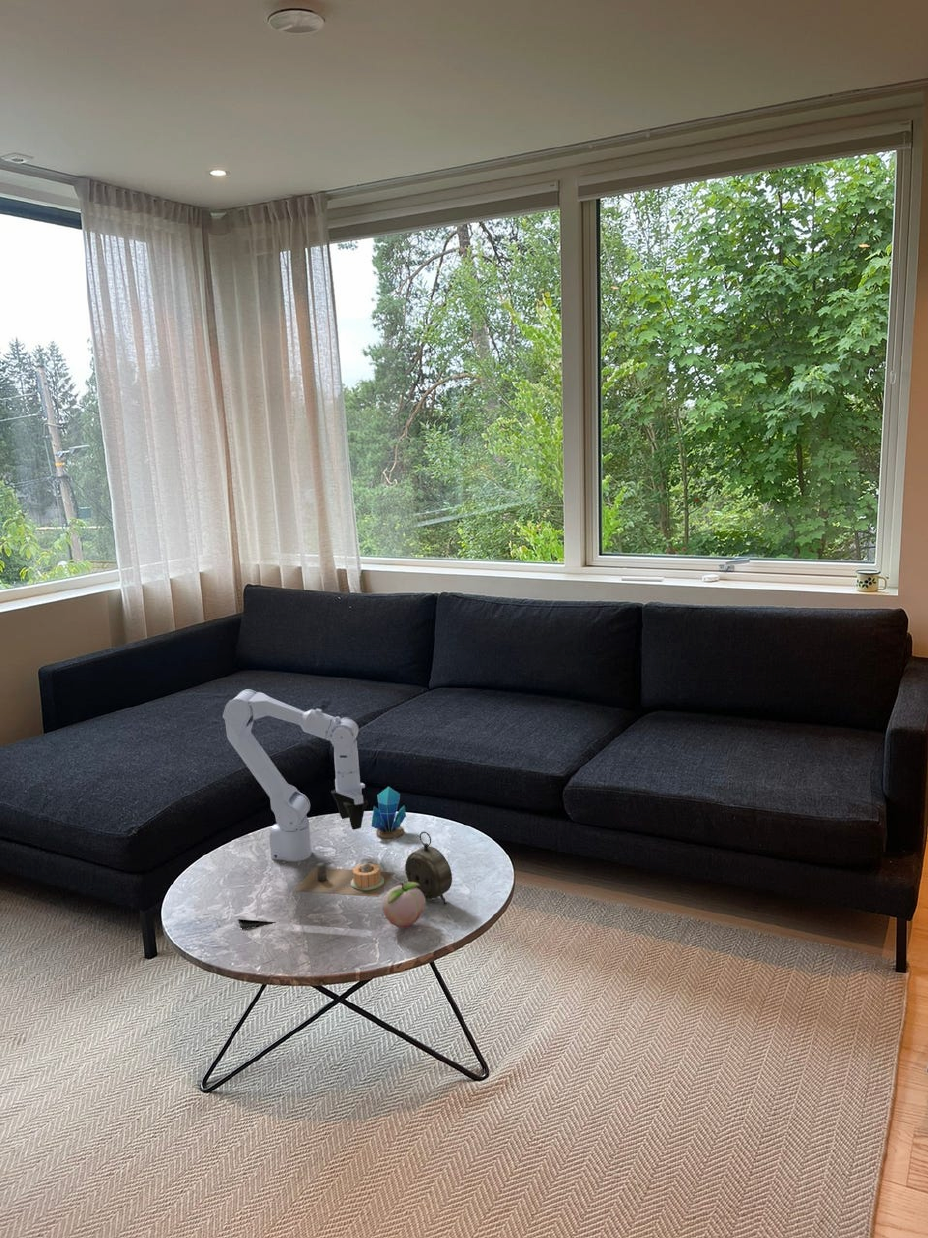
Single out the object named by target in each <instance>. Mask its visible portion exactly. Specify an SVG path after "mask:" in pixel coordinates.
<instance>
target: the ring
mask: <svg viewBox="0 0 928 1238" xmlns="http://www.w3.org/2000/svg"><path fill="white" fill-rule="evenodd" d="M368 863H369V862H368ZM363 864H364V863H362V864H358V865H356V866H355V867H353V869H352V870H353V881H354V884H355V885H356V886H358V887H362V888H368V887H372V886H376V885H377V884H379V883H380V880H381V877H380V872H381V867H380V866H379V865H378V864H376V863H372V862H371V863H369V864H370V865H371V870H372V871H371V872H368V873H362V866H363Z"/></svg>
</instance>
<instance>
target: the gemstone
mask: <svg viewBox="0 0 928 1238" xmlns="http://www.w3.org/2000/svg"><path fill="white" fill-rule="evenodd" d="M376 796H377V803H378V808H377V807H376V806H375V805H373V810H372V818H371V828H374V829H376V831H375V834H376V836H377V837H378V838H381V839H385V840H387V839H388V840H390V839H397V838H399V837H402V835H404V832H405V829H404V827H403V826H401V825H402V823H403V822H404V820H405V819H406V818H407V815H406V806H405V805H403V806H402V807H401V808H400V809H399V811H398V807H399V804H400V799H401V793H399V792H398V791H396V790H394V789H393V788H391V787H390V786H387V787H386V788H385V789H383V790H381V792H380V793H378V794H377V795H376ZM397 811H398V812H397Z"/></svg>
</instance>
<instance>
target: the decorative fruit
mask: <svg viewBox="0 0 928 1238" xmlns="http://www.w3.org/2000/svg"><path fill="white" fill-rule="evenodd" d="M417 886H420V885H419V884H418V883H416V882H406V883H404V882H402V883H401V884H400V885H396V886H394V887H392V888H391V889H390V890H389V891H387V893H385V895H384V896H383V899H382V906H381V907H382V911H383V914H384V916H385V918H386V919H387V921H388V922H389V923H390V924H392V926H395V927H397V928H402V929H407V928H410V927H411V926H412V925H414V924H415V923H416V922H418V920H419V919H420V917H421V915H422V914H423V912H424V910H425V907H426V899H425V896H424V894H423V893H422V891H421V890H420V889H418V888H417Z"/></svg>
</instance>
